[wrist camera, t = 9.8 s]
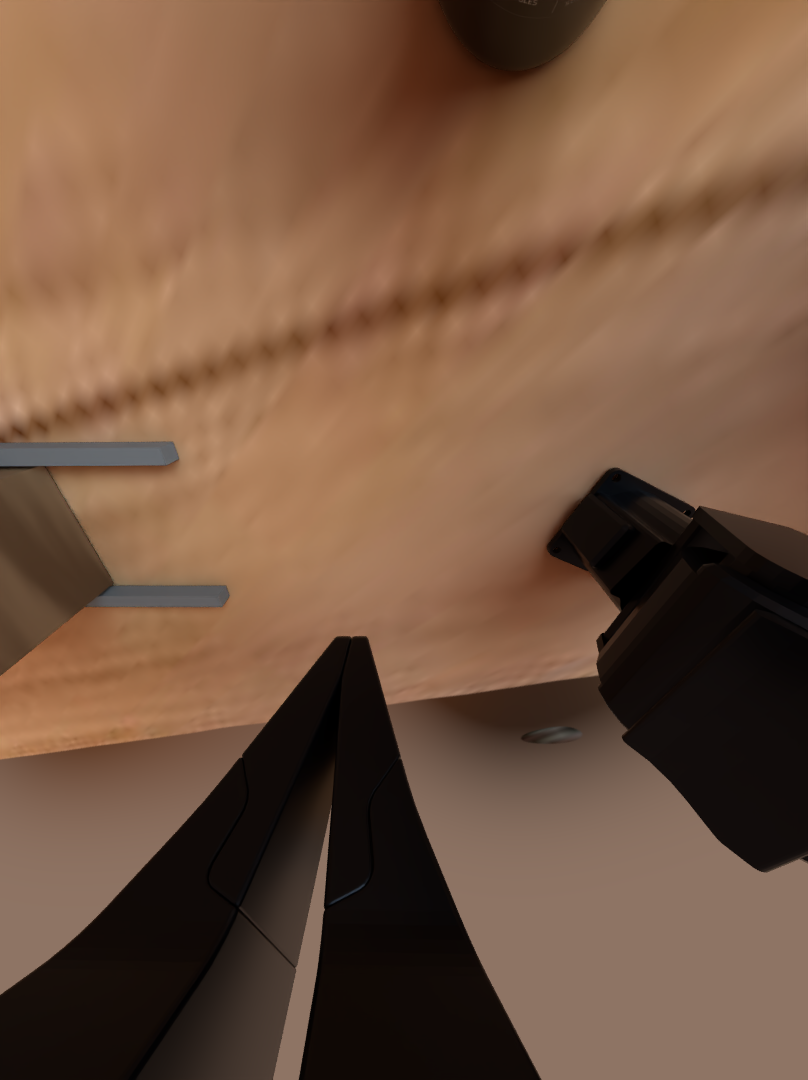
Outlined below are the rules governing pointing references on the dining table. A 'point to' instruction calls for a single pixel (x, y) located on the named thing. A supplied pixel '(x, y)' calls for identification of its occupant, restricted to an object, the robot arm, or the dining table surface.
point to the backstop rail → (117, 457)
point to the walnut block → (40, 562)
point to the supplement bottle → (519, 28)
